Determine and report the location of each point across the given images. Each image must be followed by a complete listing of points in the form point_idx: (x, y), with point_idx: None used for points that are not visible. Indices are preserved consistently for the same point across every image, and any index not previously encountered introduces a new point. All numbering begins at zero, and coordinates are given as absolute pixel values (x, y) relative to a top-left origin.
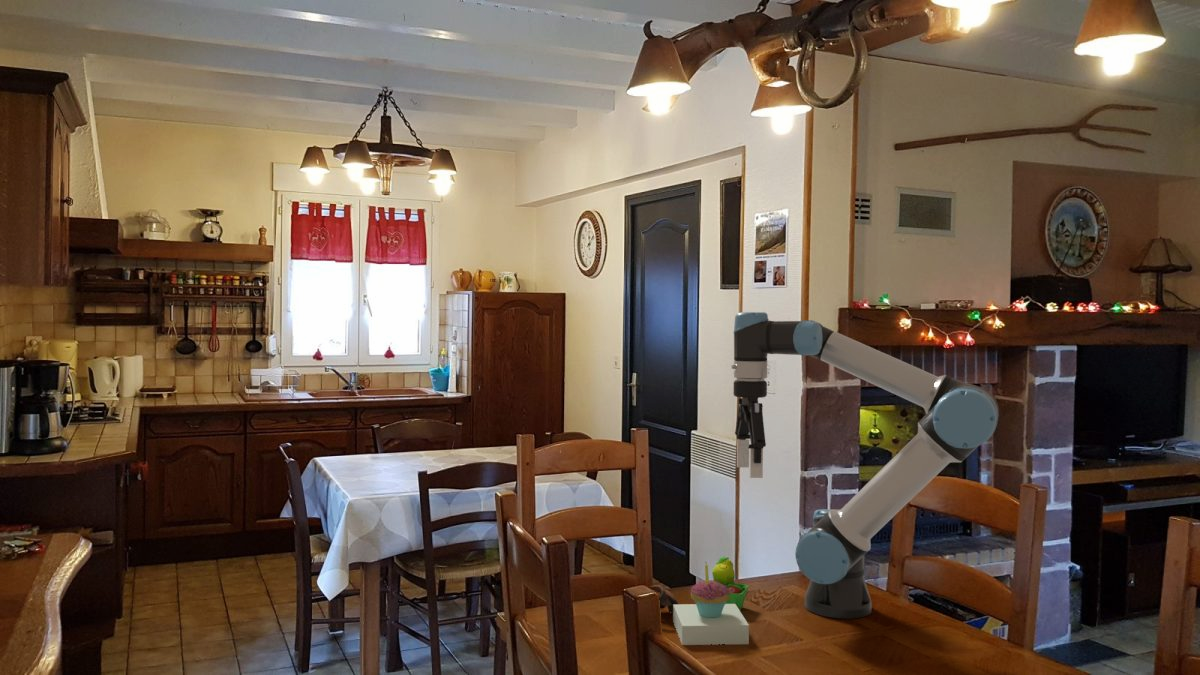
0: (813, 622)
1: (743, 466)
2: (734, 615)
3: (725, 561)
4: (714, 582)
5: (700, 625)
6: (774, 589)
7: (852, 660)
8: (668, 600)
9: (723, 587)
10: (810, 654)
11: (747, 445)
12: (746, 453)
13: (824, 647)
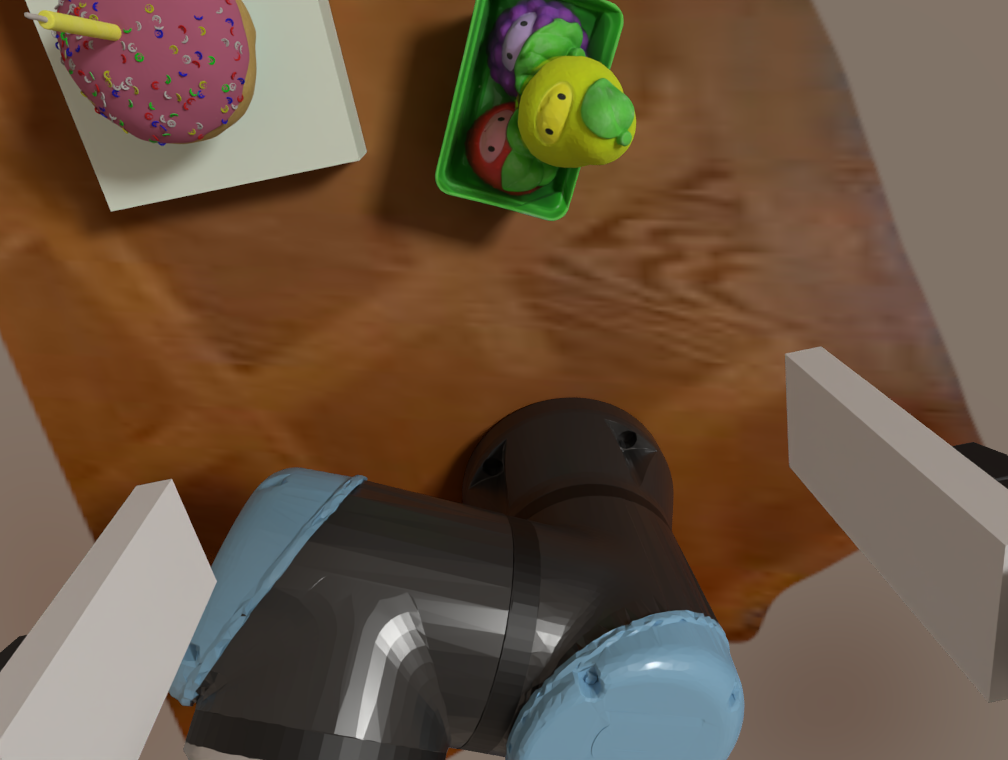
0: (416, 412)
1: (792, 418)
2: (208, 156)
3: (580, 127)
4: (147, 70)
5: (32, 8)
6: (760, 305)
7: (110, 491)
8: None
9: (139, 117)
10: (115, 387)
11: (931, 615)
12: (865, 531)
13: (192, 428)
